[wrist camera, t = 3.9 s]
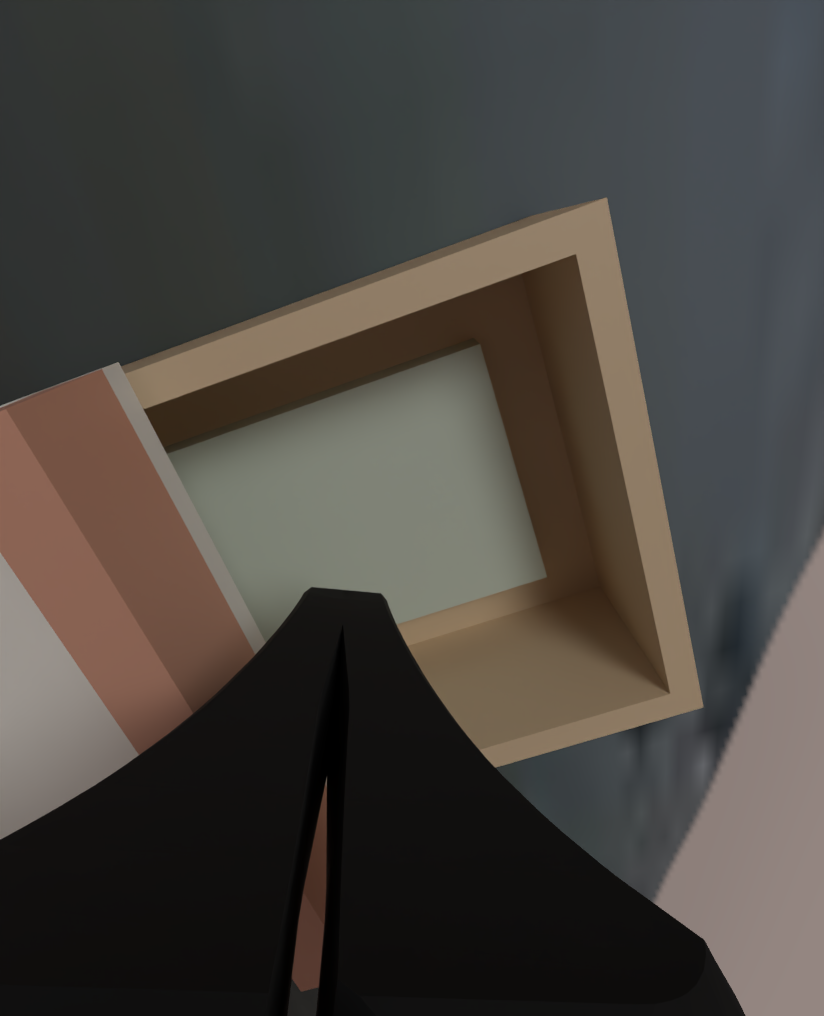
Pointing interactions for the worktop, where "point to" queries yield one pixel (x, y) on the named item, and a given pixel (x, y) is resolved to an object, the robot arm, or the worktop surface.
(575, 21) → the worktop surface
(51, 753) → the mailer lid
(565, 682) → the box
